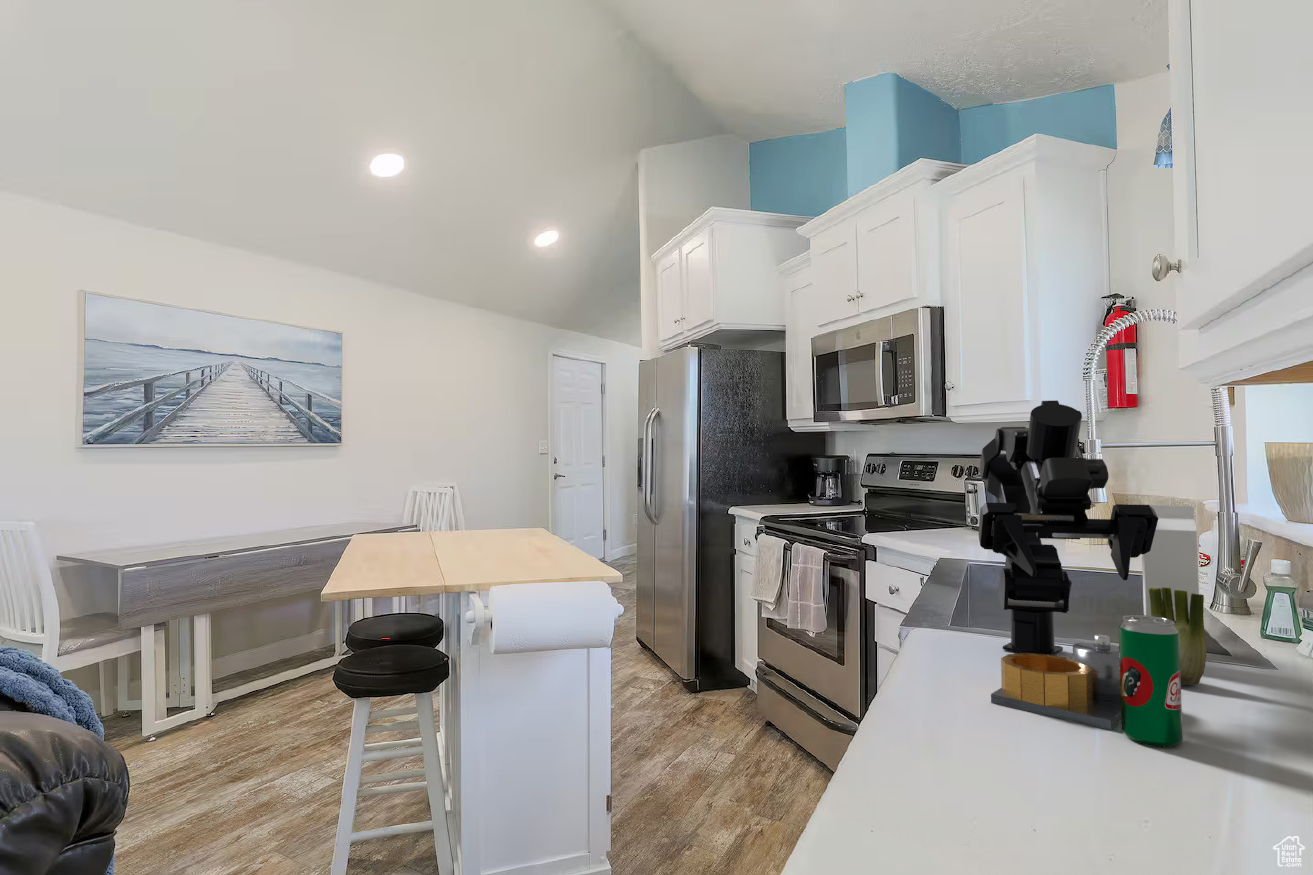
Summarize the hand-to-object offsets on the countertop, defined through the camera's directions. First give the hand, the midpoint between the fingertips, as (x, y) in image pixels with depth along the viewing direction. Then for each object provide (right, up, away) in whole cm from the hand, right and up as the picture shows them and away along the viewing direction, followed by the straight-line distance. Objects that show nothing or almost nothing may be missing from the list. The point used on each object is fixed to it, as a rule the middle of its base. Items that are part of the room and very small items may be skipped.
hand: (1079, 575), depth 80 cm
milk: (+23, -16, +18) cm, 33 cm away
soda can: (+2, -15, -9) cm, 18 cm away
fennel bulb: (+18, -16, +9) cm, 25 cm away
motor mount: (0, -15, +2) cm, 15 cm away
